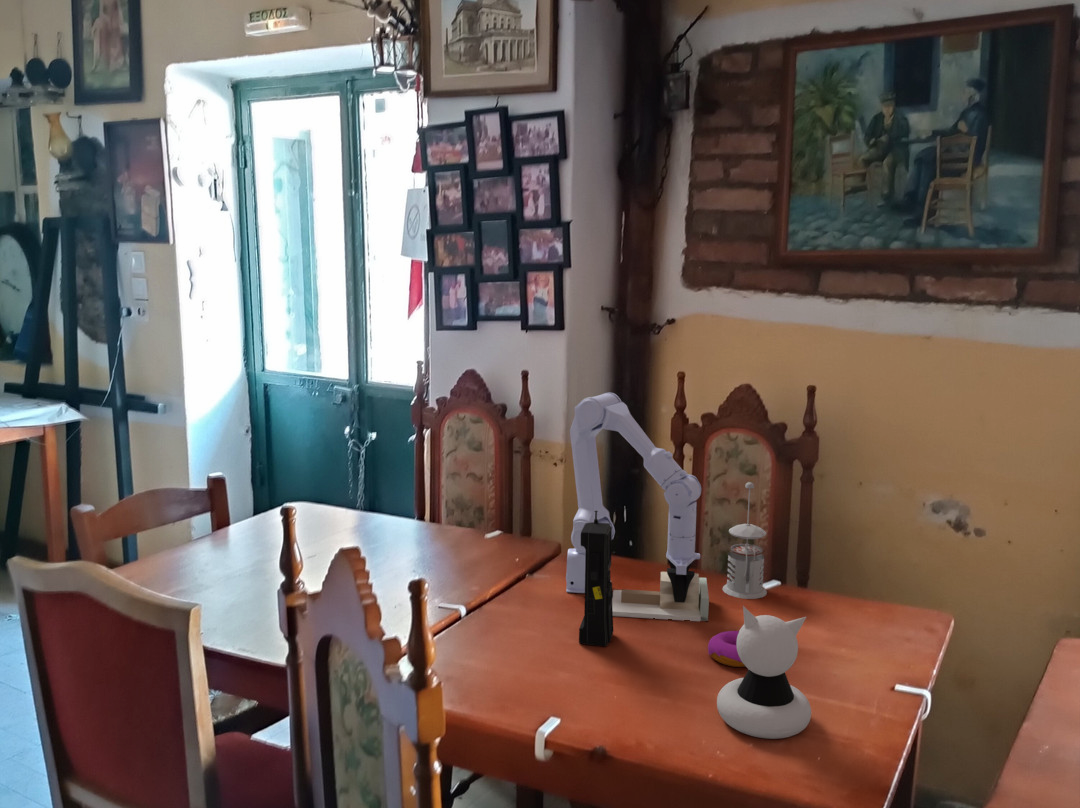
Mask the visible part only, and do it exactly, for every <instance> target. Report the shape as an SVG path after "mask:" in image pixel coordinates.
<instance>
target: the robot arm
mask: <svg viewBox="0 0 1080 808" xmlns="http://www.w3.org/2000/svg"><path fill="white" fill-rule="evenodd" d="M570 426H571V427H570V429H569V434H570V444H571V452H572V460H573V461H572V462H573V470H574V472H573V473H574V481H575V489H576V498H577V507H578V510H577V511H576V514H575V515H574V518H573V520H572V524H573V525H572V530H571V531H572V532H571V536H570V541H571V544H572V545H573V548H568V549H567V557H566V574H565V581H566V590H565V592H566V593H576V594H585V553H586V549H585V548H584V547H583V546H581V531H582V529H583V527H584V525H585V523H590V522H594V519H595V512H594V511H598V512H597V519H598V523H609V524H610V526H611V527H612V540H614V537H615V533H616V530H615V526H614V523H613V521H612V520H611V517H610V511H609V510H608V509H607V508H606V507H605V506H604V503H603V502H604V501H603V496H602V495H603V494H602V485H601V479H600V478H601V477H600V468H599V467H600V466H599V459H598V458H599V457H598V451H597V450H598V448H597V440H596V438H597V436H598V434H599V433H600V432H601V431H602V430H608V431H614V432H618V433H619V434H620V435H621V436H622V437H623V438H624V439H625V440H626V441H627V443H629V444H630V446H631V447H632V448H634V450H635V451H636V452H637V453H638V454H639V455H640V456H641V457H642V459H643V467H644V469H645V470H646V471H647V472H648V473H649V475H651V477H652V478H653V479H654V480H655V482H657V484H658V485H659V487H661V489H662V490H664V492H663V496H664V499H665V502H666V503H667V505H668V520H667V525H668V526H667V546H666V547H667V551H666V553H665V554H666V555H665V557H666V559H667V562H668V564H669V567H666V572H667V574H668V576H669V578H670V581H671V584H672V589H673V596H674V601H675V602H682V603H684V602H685V600H686V596H687V592H688V588H689V585H690V582H691V580H692V579H693V577H694V575H695V574H696V572H695V570H692V571H691V570H690V568H691V566H692V564H693V561H695V560H700V559H701V554H700V553H698V552H695V551H696V532H697V531H696V529H697V528H696V527H697V502H698V501H697V500H698V499H699V498H700V496H701V494H702V486H701V483H700V482H699V480H698V478H697V477H696V475H693V474H688V472H687V471H686V470H685V469H684V470H683V469H682V467H681V466H680V465H679V463H678V462H676V460H675V459H674V458H673V456H674V455H673V453H672V452H671V451H667V450H666V449H665V448H661V447H660V448H659V447H656V445H655V444H654V443H653V442H652V441H651V439H650V438H649V436H648V435H647V434H646V432H644V430H643V428H641V426H640V425H639V423H638V422H637V421H636V420H635V418H634V417H633V415H632V414H631V412H630V410H629V407H628V405H627V404H626V403H625V402H624V401H622V400H621V398H620V397H619V396H618V395H617V394H616V393H614V392H604V393H602V394H599V395H596V396H589V397H585V398H584V399H581V401H580V402H579V403H578V404H577V405H575V407H574V417H573V419H572V424H571V425H570ZM610 582H612V580H611V579H610Z"/></svg>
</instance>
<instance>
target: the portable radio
mask: <svg viewBox="0 0 1080 808" xmlns="http://www.w3.org/2000/svg"><path fill="white" fill-rule="evenodd" d="M594 512H595V519H594V522H590V523H585V525H584V527H583V529H582V531H581V546H583V547H584V548H585V549H586V553H585V593H584V613H583V614H584V615H583V618H582V621H581V623H580V626H579V630H578V643H579V644H582V645H588V646H597V647H608V645H609V644H610V643H611V641H612V639H613V635H614V630H615V629H614V619H613V618H614V616H613V610H612V598H613V591H614V590H613V583H612V581H611V582H610V580H611V570H610V569H611V566H612V540H613V539H612V527H611V526H610V524H609V523H598V519H597V512H598V511H594Z"/></svg>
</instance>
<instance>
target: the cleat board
mask: <svg viewBox="0 0 1080 808" xmlns="http://www.w3.org/2000/svg"><path fill="white" fill-rule="evenodd" d="M707 582H708V581H707V577H700V576H699V583H700V584H699V609H698V611H696V610H680V609H664V608H660V590H659V591H655V590H643V589H642V590H641V589H640V590H638V589H624V588H623V589H613V590H612V591H613V598H612V610H613V617H621V618H622V617H624V618H625V617H626V618H639V619H640V618H641V619H653V618H655V619H654V620H657V619H658V620H668V619H672V620H671V621H684V620H690V621H689V622H700V621H708V622H709V609H710V608H709V607H710V606H709V605H710V596H709V588H708V583H707Z"/></svg>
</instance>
